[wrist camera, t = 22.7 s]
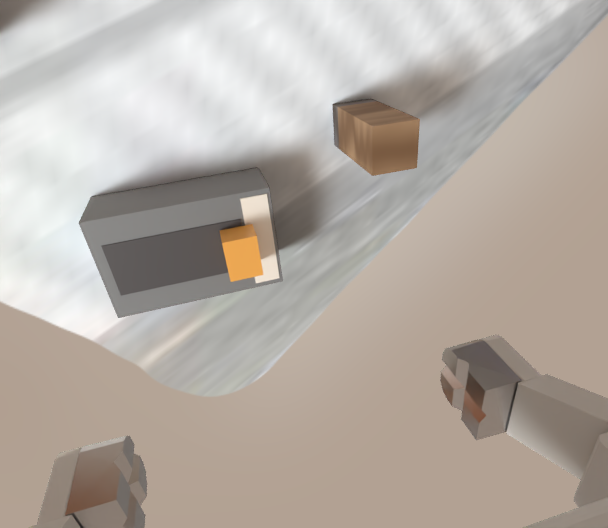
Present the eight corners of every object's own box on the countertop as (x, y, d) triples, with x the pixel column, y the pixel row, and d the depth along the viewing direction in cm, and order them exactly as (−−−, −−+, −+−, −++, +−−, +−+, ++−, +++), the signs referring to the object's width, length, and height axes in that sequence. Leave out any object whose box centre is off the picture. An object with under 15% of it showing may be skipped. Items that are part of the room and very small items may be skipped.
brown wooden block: (332, 104, 41) (372, 126, 33) (371, 98, 42) (419, 119, 34) (334, 145, 43) (372, 175, 35) (371, 139, 44) (416, 167, 36)
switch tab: (219, 230, 38) (221, 242, 36) (252, 223, 38) (256, 236, 36) (227, 268, 40) (230, 281, 38) (259, 261, 40) (263, 274, 38)
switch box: (91, 197, 40) (78, 223, 35) (258, 167, 42) (269, 188, 37) (124, 284, 45) (118, 318, 40) (271, 253, 48) (283, 281, 43)
